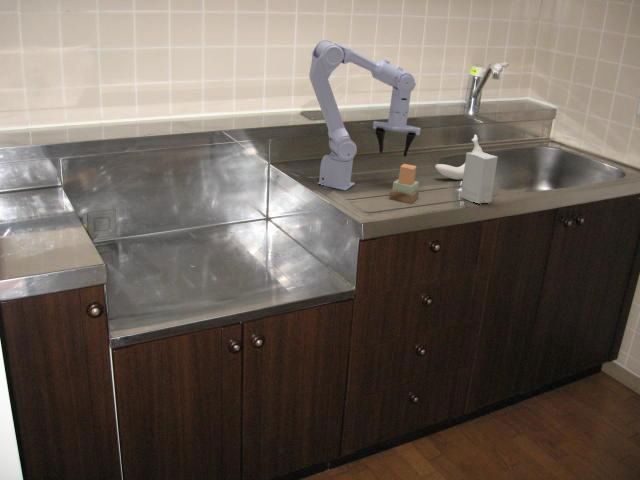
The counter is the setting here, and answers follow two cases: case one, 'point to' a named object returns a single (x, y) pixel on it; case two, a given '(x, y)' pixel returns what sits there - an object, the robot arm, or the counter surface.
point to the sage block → (405, 187)
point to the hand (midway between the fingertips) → (393, 153)
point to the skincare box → (478, 177)
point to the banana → (457, 171)
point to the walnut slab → (403, 196)
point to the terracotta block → (407, 174)
